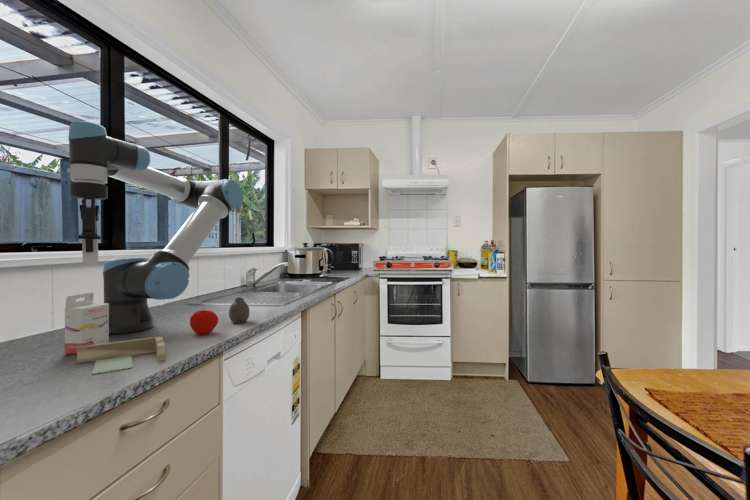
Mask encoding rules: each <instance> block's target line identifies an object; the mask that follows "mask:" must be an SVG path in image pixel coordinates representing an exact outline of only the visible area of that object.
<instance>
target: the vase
mask: <svg viewBox="0 0 750 500" xmlns="http://www.w3.org/2000/svg"><path fill="white" fill-rule="evenodd" d="M228 317H229V320H230V321H231V322H232V323H233V324H244V323H246V322H247V321H248V320H249V317H250V307H249V305H248V303H247V302H246V301H245V300H244V298H243V297H235V299H234V301H233V302H232V303H231V305H230V307H229V310H228Z"/></svg>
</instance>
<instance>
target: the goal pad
mask: <svg viewBox="0 0 750 500" xmlns="http://www.w3.org/2000/svg"><path fill="white" fill-rule="evenodd" d="M128 368H130V369H132V368H133V355H130V356H124V357H117V358H110V359H104V360H97V361H94V366H93V369H92V373H91V375H92V374H94V375H99V374H98V373H100V374H105V372H106V373H111V371H112V372H117V370H118V371H123V369H124V370H129V369H128Z"/></svg>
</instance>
